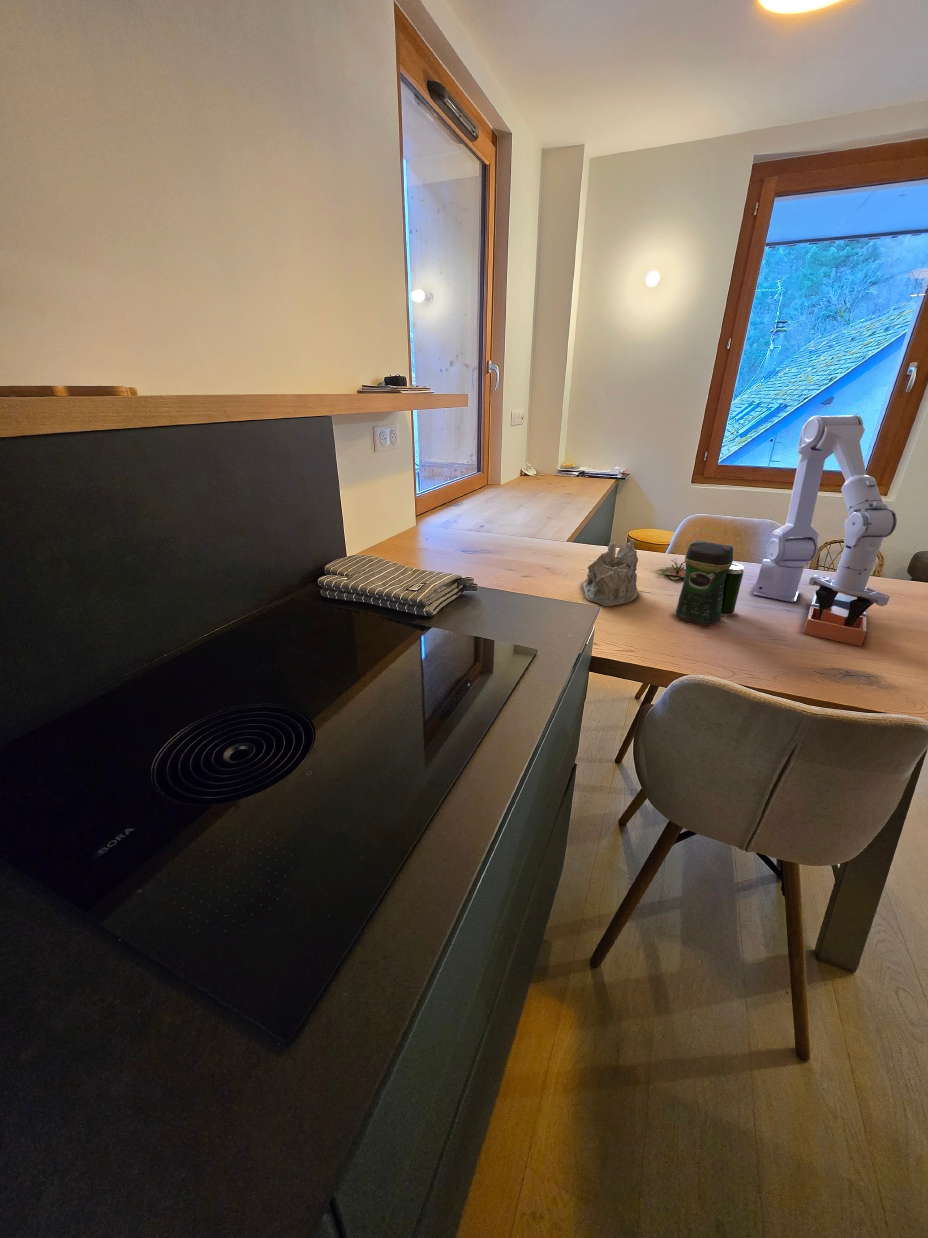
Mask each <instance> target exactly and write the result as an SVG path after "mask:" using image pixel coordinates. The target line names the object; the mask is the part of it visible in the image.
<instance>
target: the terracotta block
mask: <svg viewBox="0 0 928 1238" xmlns="http://www.w3.org/2000/svg"><path fill="white" fill-rule="evenodd" d="M848 613H849V610H846V609H843V608H840V607H836V606H832V607H830V608H827V609H824V610H823V612H822V615H821V618H820V621H823V622H828V623H832V624H837V625H842V626H844V625H845V622H846V619H847V617H848Z"/></svg>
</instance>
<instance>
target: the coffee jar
mask: <svg viewBox="0 0 928 1238" xmlns="http://www.w3.org/2000/svg"><path fill="white" fill-rule="evenodd" d="M733 560H734V547H733V545H727V544H721V543H715V542H709V541H702V540H695V541H693V542H691V543H690V544H689V546H688V547H687V551H686V555H685V556H684V561H685V563H684V566H686V567H685V569H686V572H685V578H684V577H683V583H682V587H681V590H680V594H679V597H678V600H677V603H676V604H677V605H676V607H675V616H676V618H678V619H680V620H682V621H686V622H690V623H694V624H697V625H701V626H711V625H715V624H717V623H718V622H719V621H720V620H721V617H722V616H721V610H722V600H723V590H724V582H725V578H726V574H727V571H728V570H729V568H730V567H731V565H732V563H734V562H733Z"/></svg>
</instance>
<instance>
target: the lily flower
mask: <svg viewBox="0 0 928 1238" xmlns="http://www.w3.org/2000/svg"><path fill="white" fill-rule="evenodd" d="M674 560H675V561H674ZM674 560H673V559H671V560H670V561H671V562H673V563H674V564H671V566H668V567H664V568H660V569H655V571H657V572H660V574H659V577H661V576H667V575H668V577H669V578H670V579H671V580H672V581H674V580H678V579H682V578H683V579H684V578H685V572H686V565H685V560H684V561H683V562H681V563H680V561H679V562H678V561H677V559H676V558H674Z"/></svg>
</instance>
